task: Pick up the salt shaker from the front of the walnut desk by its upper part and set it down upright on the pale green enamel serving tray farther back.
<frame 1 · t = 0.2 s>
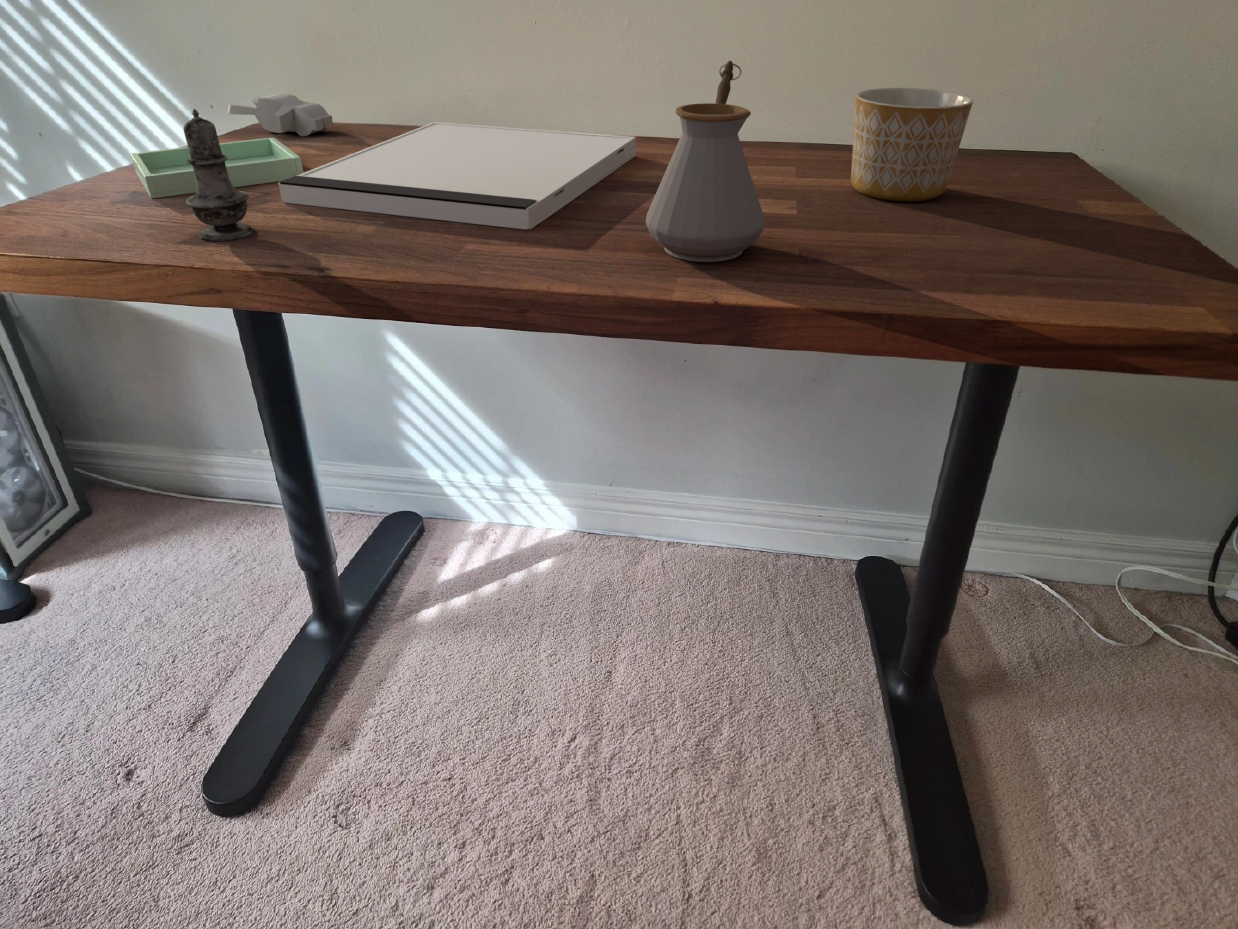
bunny figurine: (287, 132, 128), on the table
serving tray: (219, 175, 105), on the table
flat white box: (475, 178, 105), on the table
planter: (896, 192, 100), on the table
salt shaker: (227, 234, 86), on the table
coffee pot: (709, 235, 86), on the table
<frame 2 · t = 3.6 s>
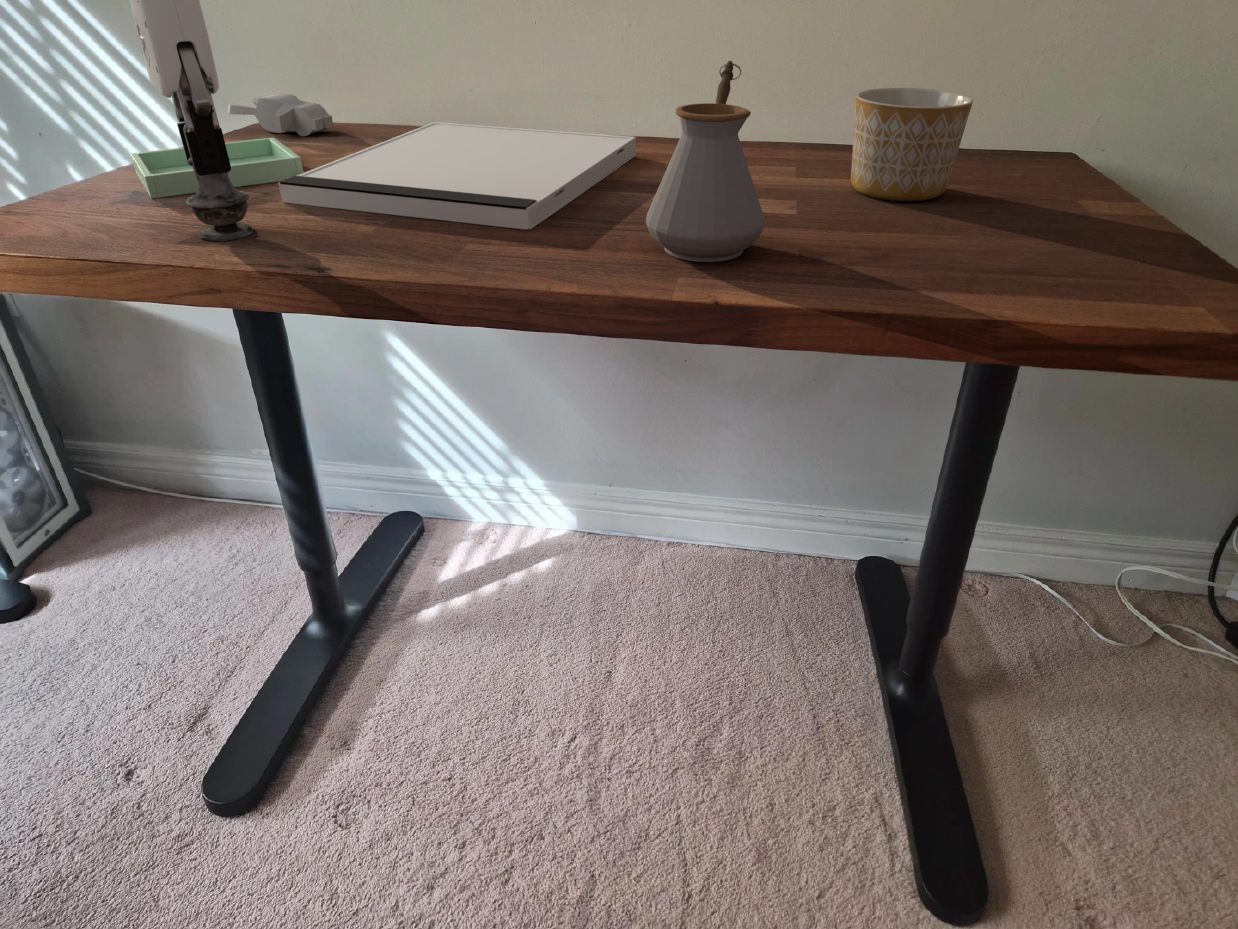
hand: (209, 166, 82), 7 cm above the table, tool pointing down, fingers closed on salt shaker, 3 cm apart
salt shaker: (227, 234, 86), on the table, touching gripper
everything else where it was.
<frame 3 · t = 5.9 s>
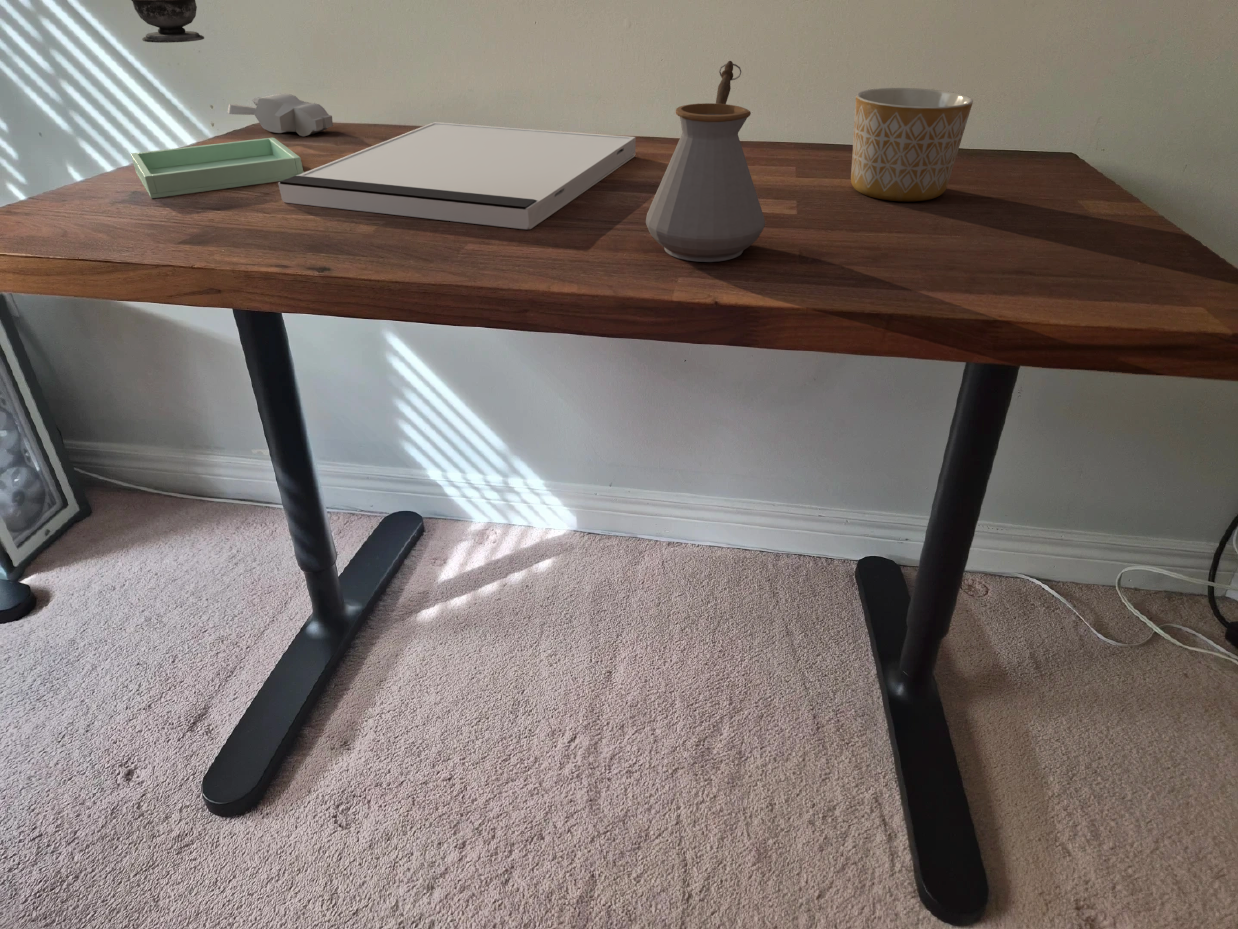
salt shaker: (174, 41, 78), point 17 cm above the table, touching gripper
everything else where it was.
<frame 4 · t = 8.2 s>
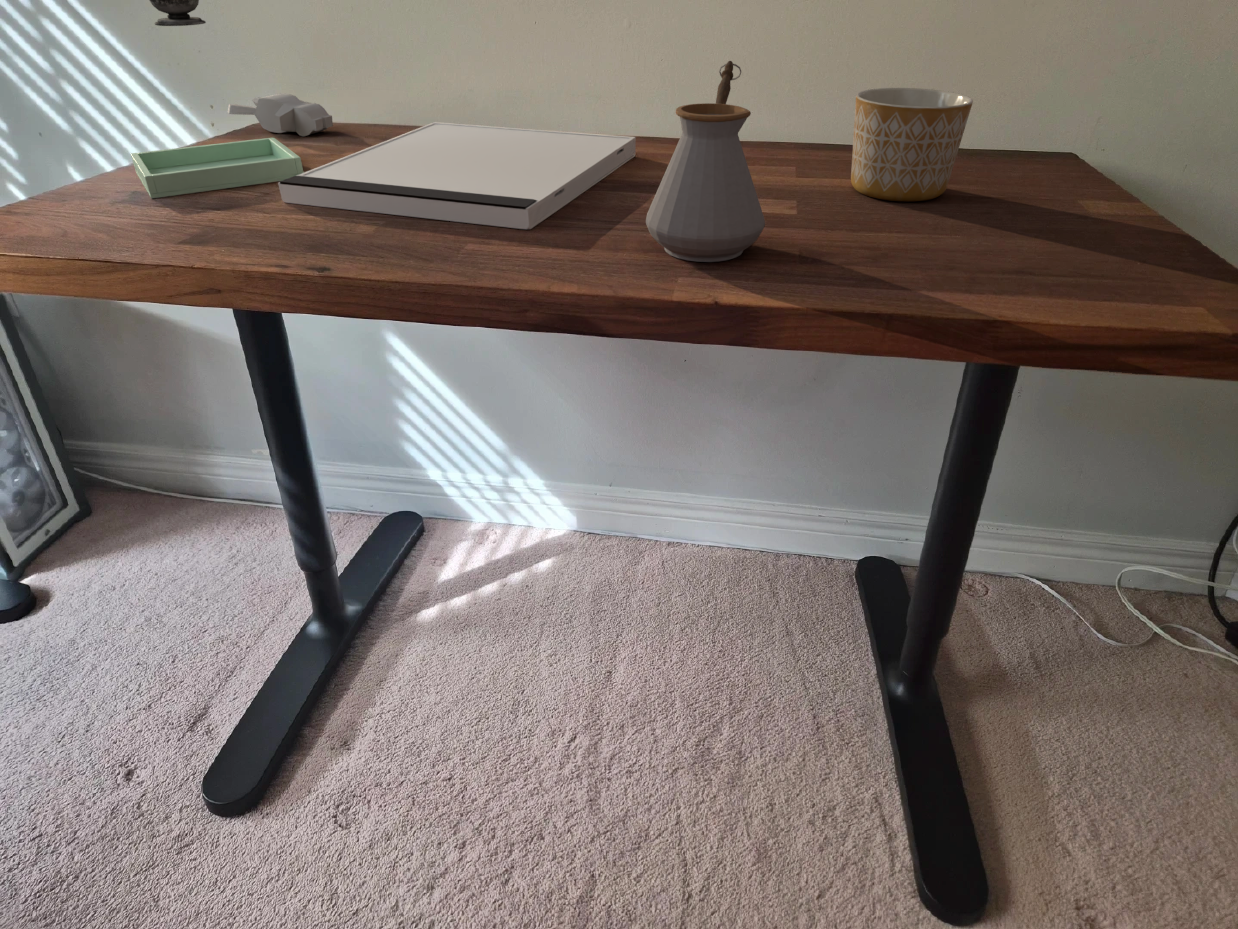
salt shaker: (181, 25, 94), point 17 cm above the table, touching gripper
everything else where it was.
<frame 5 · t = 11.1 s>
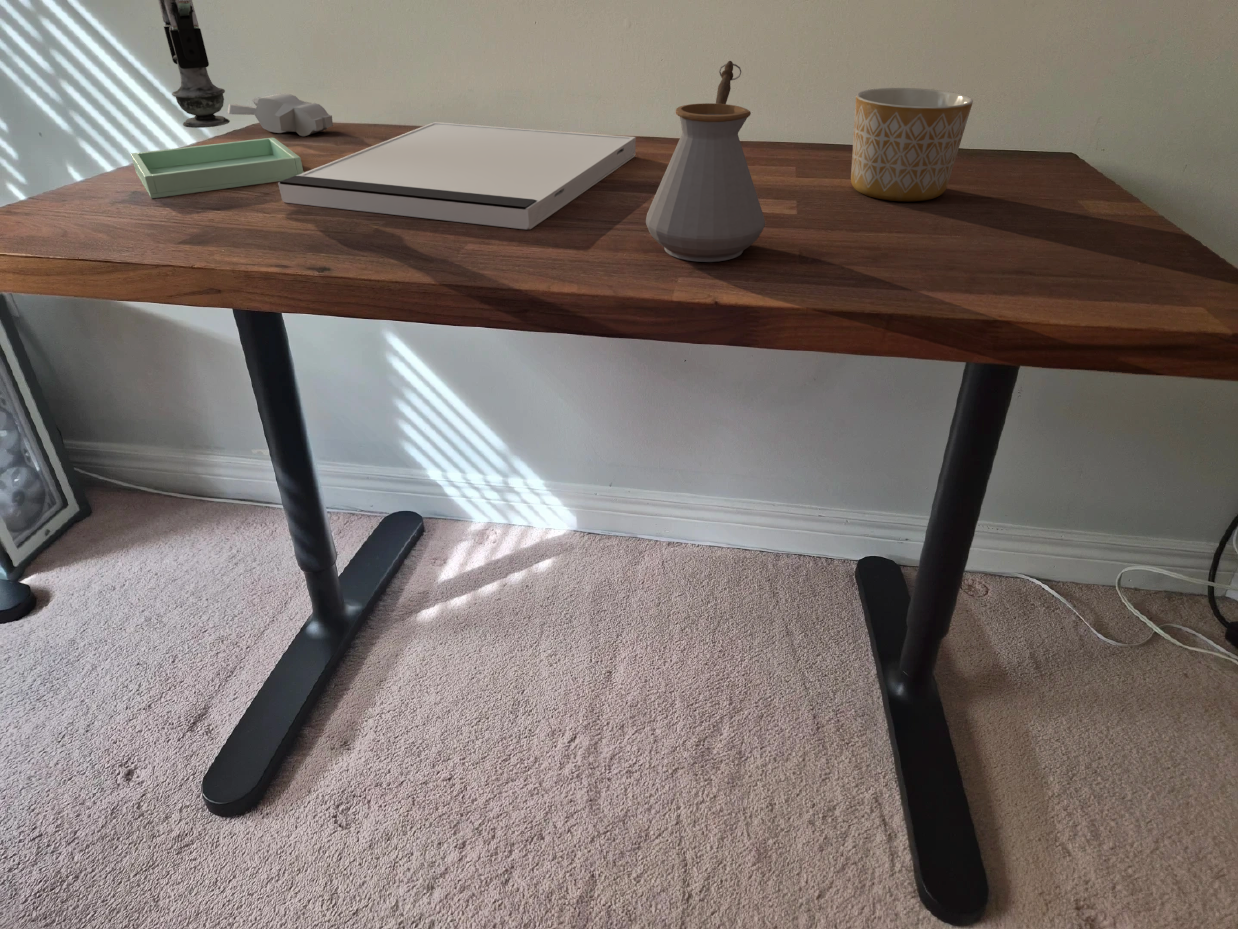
hand: (191, 63, 98), 13 cm above the table, tool pointing down, fingers closed on salt shaker, 3 cm apart
salt shaker: (207, 124, 102), point 6 cm above the table, touching gripper
everything else where it was.
when the fingers open (7 cm above the table, at t = 13.0 s): salt shaker stays where it is, resting on serving tray.
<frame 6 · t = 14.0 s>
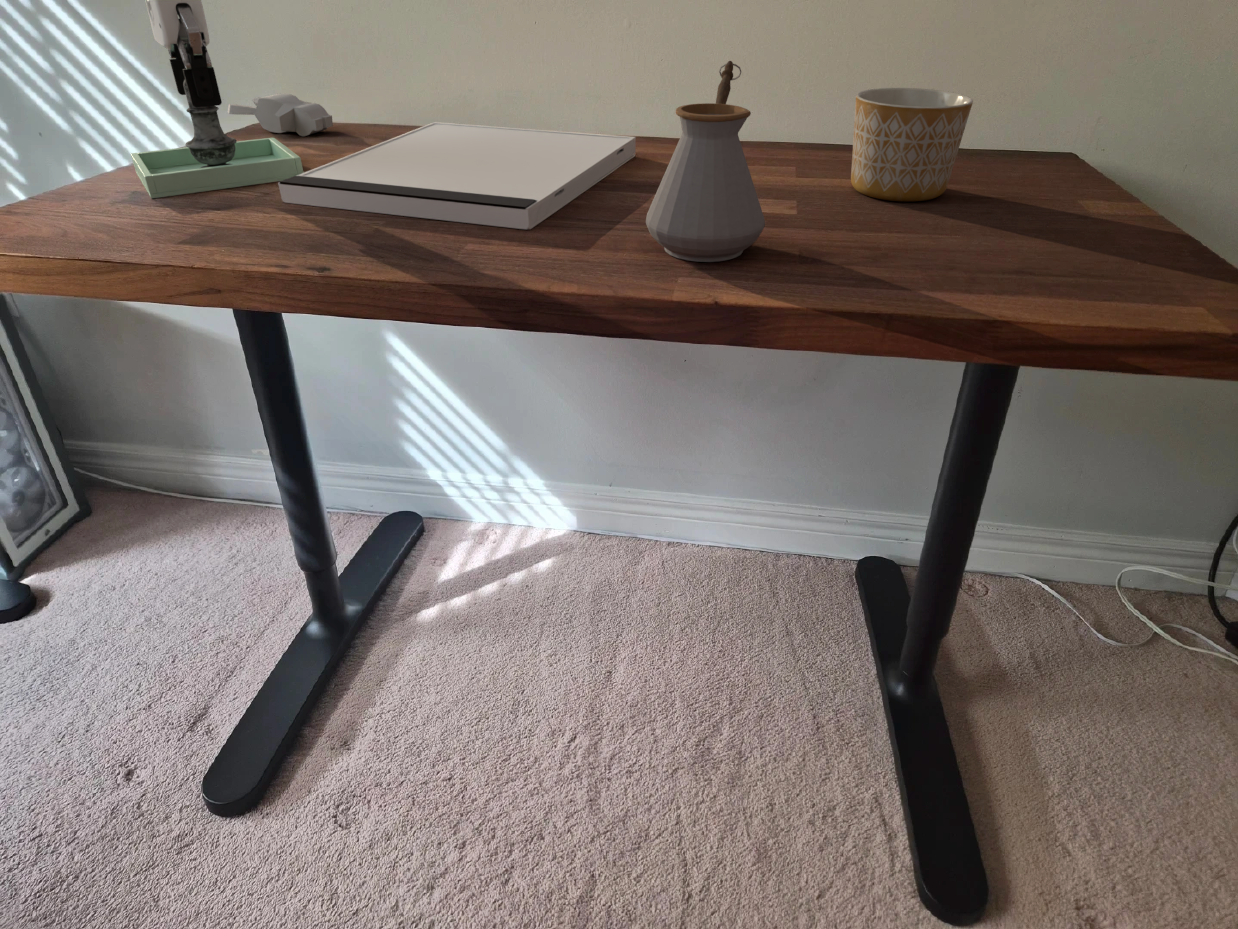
hand: (199, 99, 100), 9 cm above the table, tool pointing down, fingers open, 9 cm apart
salt shaker: (219, 173, 105), resting on serving tray
everything else where it was.
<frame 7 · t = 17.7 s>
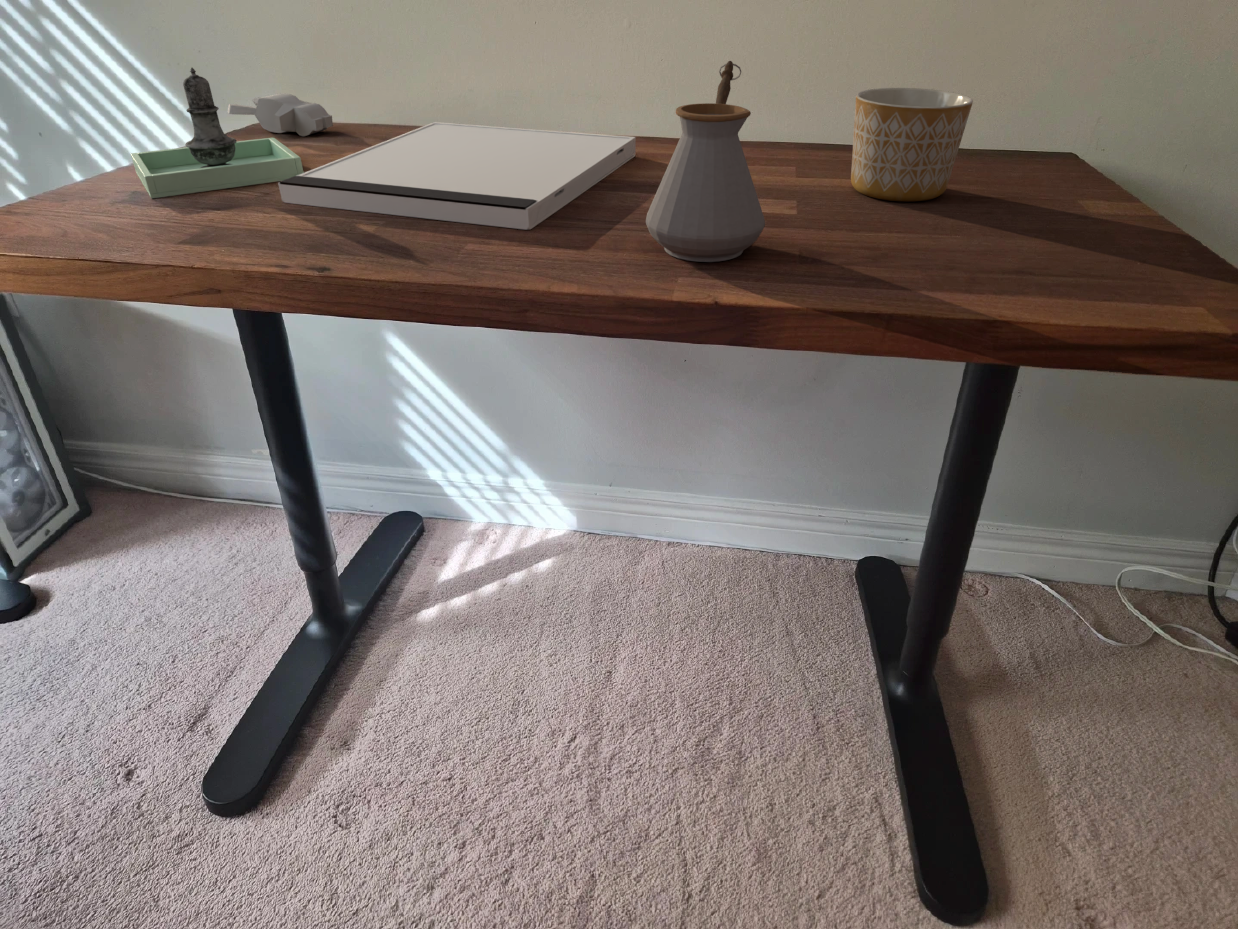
nothing on the table moved.
at the end: salt shaker inside the target area in the serving tray (0.0 cm from its centre), point 0.3 cm above the serving tray's base; salt shaker tilted 0°; the gripper is holding nothing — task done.
